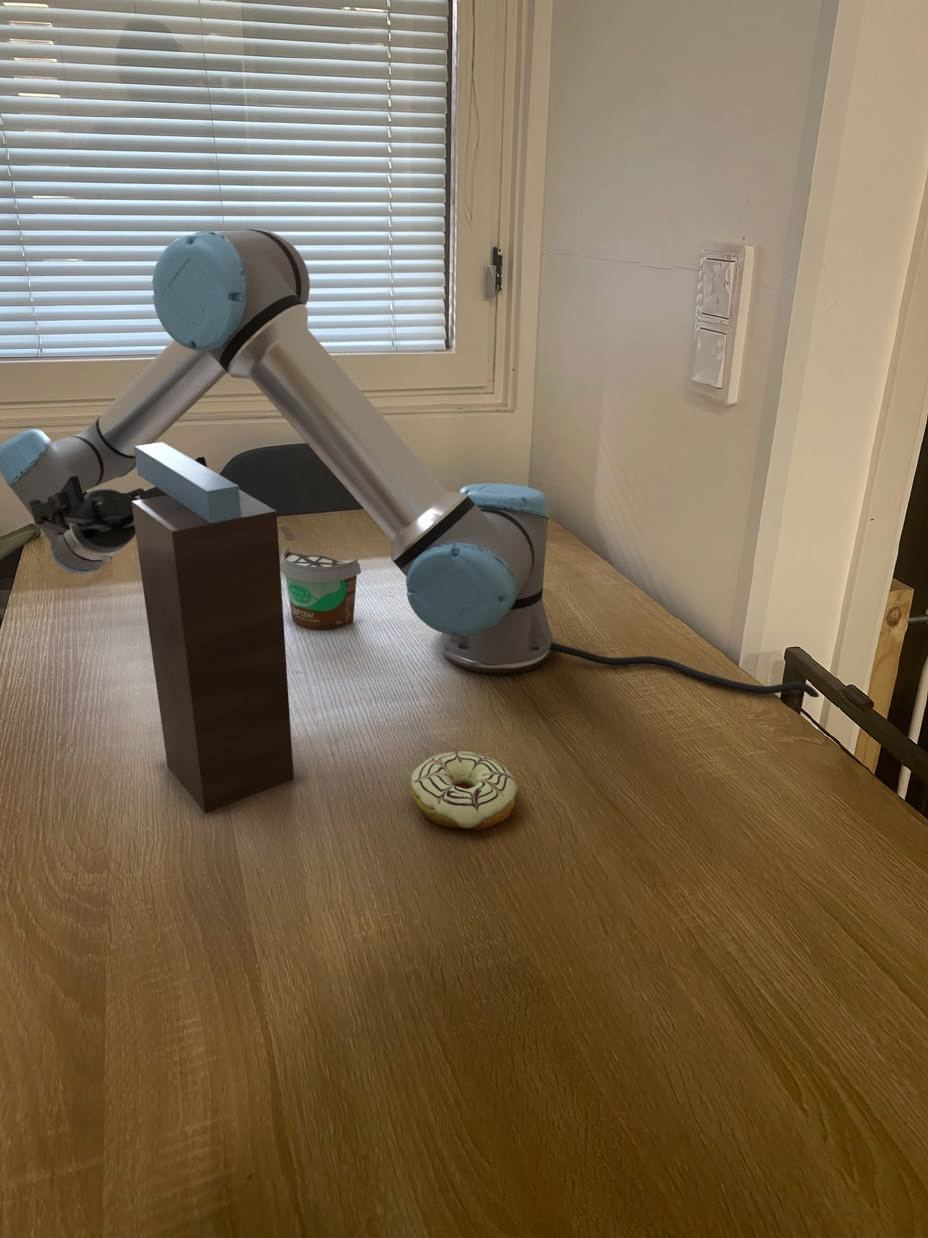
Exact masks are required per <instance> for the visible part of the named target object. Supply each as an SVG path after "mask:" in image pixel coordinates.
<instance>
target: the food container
mask: <svg viewBox="0 0 928 1238" xmlns="http://www.w3.org/2000/svg"><path fill="white" fill-rule="evenodd" d="M361 569H362V568H361V565H360V563H359V560H358V558H355V559H353V560H351V561H350V562H344V561H340V560H336V559H334V558H331V557H327V556H325V555H318V554H317V555H316V554H315V555H314V554H313V555H312V554H301V553H295V552H291V550H290V546H289V545H287V546H286V547H285V548H284V549H283V550H282V554H281V555H280V573H281V574H282V575H284V576H285V582H286V588H287V594H288V595H287V596H288V600H289V606H290V612H291V618H292V621H293V623H294V624H296V626H298V627H300V628H303V629H307V630H311V631H330V630H337V629H341V628H344V627H346V626H348V625H350V624H352V623H353V622H354V617H355V606H356V605H355V604H356V592H357V591H356V590H357V579H358V577H357V576H358V575H360V574H362V570H361Z"/></svg>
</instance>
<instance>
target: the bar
mask: <svg viewBox="0 0 928 1238" xmlns="http://www.w3.org/2000/svg"><path fill="white" fill-rule="evenodd" d="M134 449H135V457H136V464H137V468H136V471H137V475H138V476H139V477H141V478H142V479H144V480H145V481H146V482H148V483H149V484H151V485H152V486H154V487H157V488H159V489H160V490H161V491H163V492H164V493H166V494H167V495H169V496H170V497H172V498H173V499H175V500H176V501H178V502H179V503H181V504H182V505H184V506H185V507H187V508H188V509H190V510H191V511H192V512H194V513H195V514H197V515H198V516H200V517H201V518H203V519H204V520H206V521H207V522H209V523H210V524H211V523H216V522H221V521H226V520H232V519H237V518H241V508H240V496H239V490H240V486H239V485H238V484H236V483H234V482H232V481H231V480H229V479H227V478H225V477H223V475H221V474H218V473H217V472H215V471H214V470H212V469H210V468H208V467H207V468H206V467H205V466H203V465H201V464H200V463H198V462H196V461H195V459H192V457H190V456H188V455H186V454H184V453H182V452H180V451H179V450H177V449H175V448H174V447H171V446H170V445H169V444H167V443H165V442H163V441H161V442H154V443H153V444H146V445H139V446H134Z"/></svg>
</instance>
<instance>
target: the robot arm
mask: <svg viewBox="0 0 928 1238" xmlns="http://www.w3.org/2000/svg"><path fill="white" fill-rule="evenodd" d="M310 283H311V282H310V275H309V270H308V267H307V265H306V262H305V260H304V258H303V257H302V255H301V254H300V252H299V251H298V249H297V248H296V247H295V246H294V245H293V244H292V243H291V242H290V241H289V240H287V239H286V238H285V237H283V236H281V235H279V234H278V233H275V232H273V231H271V230H270V231H269V230H266V229H257V228H251V229H244V230H229V231H213V230H212V231H211V230H201V231H196V232H194V233H192V234H188V235H184V236H181V237H179V238H176V239H175V240H174V241H172V242H171V243H170V244H168V245H167V246H166V247H165V248H164V249H163V251H162V252H161V254H160V256H158V259H157V261H156V264H155V267H154V270H153V274H152V281H151V284H152V290H153V295H152V302H153V306H154V310H155V313H156V316H157V318H158V321H159V322H160V324H161V325H162V327H163V329H164V330H165V332H166V333H167V335H169V336H170V338H172V339H173V340H172V341H170V343H168V345H166V347H164V349H163V350H162V351H161V352H160V353H159V354H157V356H156V357H155V358H154V359H153V360H152V361H151V362H150V363H149V364H148V365H147V366H146V367H145V368H144V370H142V371H141V372H140V373H139V375H138V376H136V378H135V379H134V380H133V381H132V382H131V383H130V384H129V385H128V386H127V387H126V388H125V389H124V390H123V391H122V392H121V393H120V394H119V395H118V396H117V397H116V398H115V399H114V400H113V402H111V403H110V404H109V406H107V408H106V409H105V410H104V411H103V412H102V413H101V414H100V415H99V417H97V418H96V419H95V420H94V422H92V423H91V425H89V426H88V428H86V429H85V430H83V431H82V432H79V433H76V434H73V435H70V436H67V437H63V438H61V439H57V440H55V441H52V439H51V438H50V437H48V436H47V435H46V434H45V432H44V430H43V431H42V430H41V429H36V428H32V429H28V430H25V431H23V432H21V433H18V434H16V435H14V436H13V437H11V438H9V439H8V440H6V441H4V442H3V443H2V444H1V445H0V475H1V477H2V478H3V480H4V481H5V484H6V485H7V487H9V488H10V489H11V490H12V491H13V493H14V494H15V496H16V497H17V498H18V499H19V501H20V502H21V504H22V505H23V506H24V508H26V509H27V511H28V512H29V514H30V515H31V516H32V518H33V522H34V524H35V525H36V526H38V527H39V528H40V530H41V531H42V532H43V534H44V535H45V536H46V538H47V540H49V543H51V544H50V549H51V550H50V551H51V555H52V558H53V559H54V561H55V562H56V563H57V565H58V566H59V567H60V568H62V569H63V570H64V571H67V572H70V573H72V574H76V575H86V574H90V573H93V572H95V571H97V570H99V569H100V568H102V567H104V566H105V565H107V564H109V562H110V561H111V560H112V559H113V557H115V555H116V554H117V553H119V551H121V550H122V549H123V548H124V547H126V546H127V545H128V544H129V543H130V542H131V541H132V540H133V539H134V537H136V532H135V525H134V517H133V510H132V503H131V501H136V500H142V499H147V498H153V497H159V496H165V495H167V494H166V493H164V492H163V491H161V490H160V489H159V488H157V487H156V486H154V487H152V488H144V487H143V488H141V487H139V488H136V489H134V490H130V491H128V492H120V491H118V490H115V489H111V488H97V489H94V490H91V489H93V488H95V487H98V486H100V485H102V484H105V483H108V482H110V481H113V480H115V479H118V478H122V477H124V476H127V475H128V474H129V473H131V472H132V471H134V470H137V464H136V457H135V449H134V446H139V445H146V444H153V443H156V442H157V441H158V439H160V438H161V436H163V435H164V434H165V433H166V432H167V431H168V430H169V429H170V428H171V427H172V426H173V425H174V424H175V423H177V421H178V420H179V419H180V418H181V417H183V415H185V414H186V413H187V412H188V411H189V410H190V409H191V408H192V407H193V406H194V405H195V404H196V403H197V402H198V401H199V400H201V398H202V397H204V396H205V395H206V393H208V392H209V391H210V390H211V389H212V388H213V387H214V386H215V385H216V384H217V383H218V382H220V380H221V379H222V378H223V377H224V376H225V375H226V374H228V375H229V377H230V378H233V379H234V378H235V379H244V380H249V381H251V382H253V384H254V385H255V386H256V387H257V388H258V390H259V391H260V392H262V393H261V394H263V395H264V396H265V397H266V398H267V399H268V401H269V402H270V403H271V404H272V405H273V407H274V408H276V410H277V411H278V412H279V413H280V414H281V415H282V417H283V418H284V419H285V420H286V422H287V423H288V424H289V425H290V426H291V427H292V428H293V429H294V430H295V432H296V433H297V434H298V435H299V436H300V437H301V438H302V439H303V440H304V442H305V443H306V444H307V445H308V446H309V447H310V448H311V450H312V451H313V452H314V453H315V454H316V455H317V456H318V458H319V459H320V460H321V461H322V462H323V464H324V465H325V466H326V467H327V468H328V470H329V471H331V473H332V474H333V475H334V476H335V477H336V478H337V479H338V481H339V482H340V483H341V485H343V487H344V488H345V489H346V490H347V491H348V492H349V493H350V494H351V496H352V497H353V498H354V499H355V500H356V501H357V502H358V504H359V505H360V506H361V507H362V508H363V509H364V510H365V512H366V513H367V514H368V515H369V516H370V517H371V519H372V520H373V521H374V523H376V524H377V525H378V526H379V527H380V529H381V530H382V531H383V532H384V533H385V534H386V536H387V537H388V538H389V539H390V542H391V545H390V546H391V547H390V548H391V549H390V559H391V561H392V562H393V563H394V564H395V565H396V567H397V568H398V569H399V570H400V572H401V573H402V574H403V575H404V576H405V586H406V591H407V592H406V598H407V602H408V604H409V605H410V607H411V609H412V611H413V612H414V614H415V615H416V616H417V617H418V618H419V619H420V621H421V622H423V623H424V624H425V625H427V627H429V628H431V629H433V630H435V631H437V632H439V633H441V637H440V638H441V640H440V641H441V642H440V648H441V653H442V654H443V656H444V657H445V658H446V660H447V661H449V662H450V663H452V664H453V665H455V666H457V667H459V668H462V669H465V670H466V671H469V672H470V671H471V672H473V673H478V674H485V675H497V676H501V675H502V676H503V675H504V676H506V675H516V674H517V675H518V674H523V673H527V672H530V671H534V670H536V669H538V668H540V667H541V666H544V665H545V664H546V663H547V662H548V661H549V660H550V659H551V657H552V653H553V652H557V653H562V654H566V655H569V656H573V657H577V658H581V659H584V660H587V661H590V662H593V663H596V664H601V665H607V666H630V665H631V666H632V665H645V664H646V665H657V666H663V667H664V668H665V667H666V668H669V669H672V670H675V671H678V672H680V673H683V674H685V675H687V676H690V677H692V678H694V679H697V680H700V681H703V682H707V683H710V684H714V685H717V686H720V687H724V688H728V689H732V690H735V691H740V692H745V693H752V694H757V695H772V694H773V695H774V694H778V693H784V692H789V691H797V690H798V691H802V692H805V693H806V694H807V695H808V696H809V697H810V698H811V697H812V698H819V697H820V695H819V693H818V692H817V690H816V689H814V688H813V687H812V686H811V685H809V684H807V683H805V682H801V681H789V682H785V683H779V684H774V685H757V684H751V683H745V682H739V681H737V680H736V681H735V680H731V679H727V678H724V677H721V676H717V675H713V674H710V673H706V672H703V671H700V670H697V669H695V668H692V667H690V666H687V665H684V664H683V663H680V662H677V661H674V660H671V659H667V658H663V657H659V656H658V657H657V656H649V655H647V656H646V655H641V656H627V657H609V656H603V655H598V654H595V653H591V652H588V651H586V650H582V649H578V648H575V647H572V646H568V645H564V644H559V643H555V642H553V635H552V631H551V628H550V623H549V620H548V617H547V613H546V609H545V606H544V602H543V591H544V577H545V565H546V553H547V552H546V551H547V537H548V523H549V520H550V514H549V499H548V497H547V496H546V494H544V493H543V492H542V491H541V490H539V489H535V488H533V487H528V486H523V485H517V484H508V483H488V482H487V483H473V484H467V485H466V486H463V487H462V488H461V489H460V490H459V492H455V491H449V490H447V489H445V488H444V486H443V485H442V484H441V483H440V481H438V479H437V478H436V477H435V475H434V474H433V473H432V472H431V471H430V470H429V469H428V467H427V466H426V465H425V464H424V463H423V462H422V460H421V459H420V458H419V457H418V456H417V454H416V453H415V452H414V451H413V450H412V449H411V447H409V445H408V444H407V443H406V442H405V440H404V439H402V437H401V436H400V435H399V434H398V433H397V431H396V430H395V428H394V427H393V426H392V425H391V424H390V423H389V422H388V420H386V419H385V417H384V416H383V415H382V414H381V413H380V411H379V410H378V409H377V408H376V407H375V406H374V404H373V403H372V402H371V401H370V399H368V397H366V395H365V394H364V392H362V390H360V388H359V387H358V386H357V385H356V384H355V382H354V381H353V380H352V379H351V378H350V376H349V375H348V374H347V373H346V372H345V370H344V369H343V368H342V367H341V366H340V365H339V363H338V362H337V361H336V360H335V359H334V358H333V357H332V355H331V354H330V353H329V352H328V351H327V350H326V348H325V347H324V346H323V344H321V342H320V341H319V340H318V339H317V338H316V336H315V335H314V334H313V333H312V332H311V331H310V330H309V325H308V321H309V320H308V318H309V309H308V306H307V304H308V301H309V298H310V297H309V296H310V290H311V285H310ZM194 461H196V462H198V463H200V464H201V465H203V466H205V467H206V468H208V466H207V465H208V464H207V462H206V458H205V456H199V457H197V458H195V459H194ZM88 490H91V491H89V492H87V491H88ZM138 497H139V498H138Z"/></svg>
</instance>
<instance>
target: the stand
mask: <svg viewBox="0 0 928 1238" xmlns="http://www.w3.org/2000/svg"><path fill="white" fill-rule="evenodd" d="M239 496H240V508H241V518H237V519H232V520H226V521H221V522H216V523H211V524H210V523H209V522H207V521H206V520H204V519H203V518H201V517H200V516H198V515H197V514H195V513H194V512H192V511H191V510H190V509H188V508H187V507H185V506H184V505H182V504H181V503H179V502H178V501H176V500H175V499H173V498H172V497H170V496H169V495H165V496H159V497H153V498H147V499H142V500H136V501H131V503H132V510H133V517H134V525H135V532H136V535H135V538H136V546H137V553H138V560H139V567H140V574H141V582H142V589H143V597H144V604H145V605H144V606H145V613H146V620H147V627H148V634H149V642H150V650H151V655H152V662H153V663H152V665H153V670H154V671H153V672H154V679H155V685H156V693H157V700H158V708H159V714H160V723H161V729H162V737H163V744H164V751H165V759H166V765H167V768H168V769H169V770H170V771H171V773H172V774H173V775H174V776H175V778H176V779H177V780H178V782H180V784H181V785H182V786H183V787H184V789H185V790H186V791H187V792H188V793H189V795H190V796H191V797H192V799H193V800H194V801H195V802H196V804H197V805H198V806H199V807H200V809H201V810H202V811H203V812H204V813H208V812H211V811H213V810H216V809H219V808H221V807H224V806H227V805H229V804H231V803H234V802H237V801H241V800H242V799H245V798H247V797H250V796H253V795H256V794H258V793H261V792H263V791H266V790H268V789H271V788H274V787H276V786H279V785H281V784H285V783H287V782H290V781H292V780H294V779H295V776H294V775H295V774H294V760H293V743H292V729H291V728H292V727H291V714H290V713H291V711H290V699H289V684H288V682H289V681H288V667H287V651H286V637H285V635H286V634H285V621H284V607H283V591H282V575H281V574H282V572H281V571H280V560H281V556H280V544H279V542H280V541H279V529H278V516H277V515H278V513H277V510H275V509H274V508H272V507H270V506H268V505H267V504H266V503H263V502H261V500H258V499H257V498H255V497H253V496H251V495H249V494H248V493H246V492H245V491H242V490H241V489H239Z"/></svg>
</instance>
